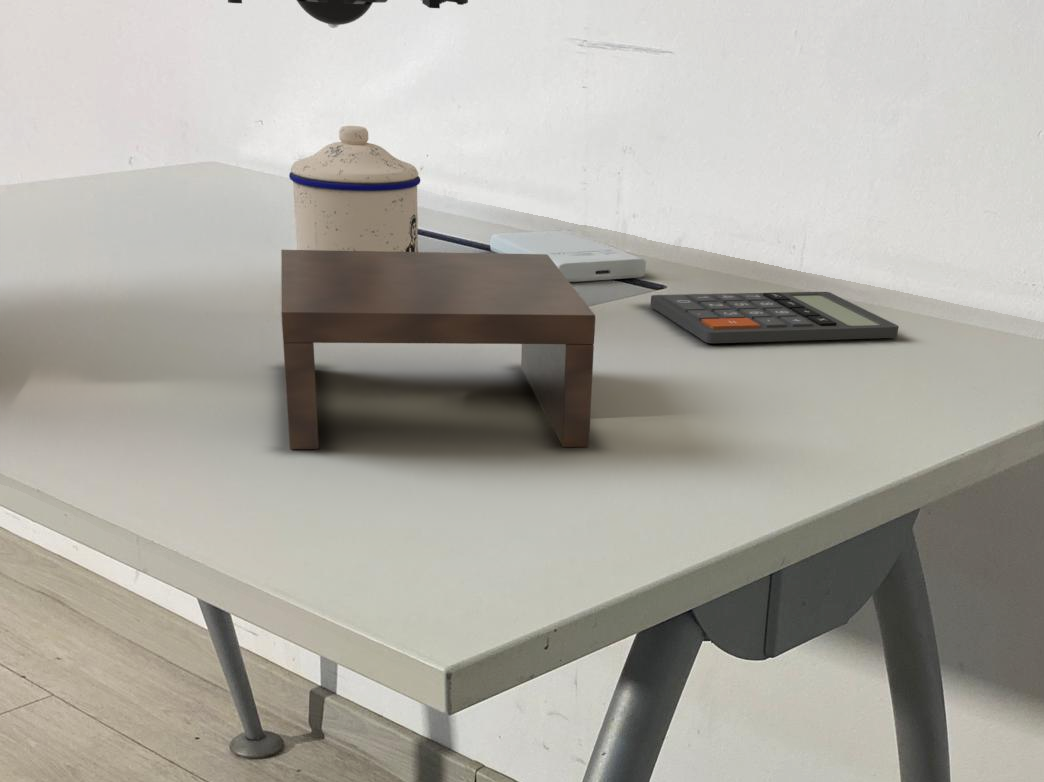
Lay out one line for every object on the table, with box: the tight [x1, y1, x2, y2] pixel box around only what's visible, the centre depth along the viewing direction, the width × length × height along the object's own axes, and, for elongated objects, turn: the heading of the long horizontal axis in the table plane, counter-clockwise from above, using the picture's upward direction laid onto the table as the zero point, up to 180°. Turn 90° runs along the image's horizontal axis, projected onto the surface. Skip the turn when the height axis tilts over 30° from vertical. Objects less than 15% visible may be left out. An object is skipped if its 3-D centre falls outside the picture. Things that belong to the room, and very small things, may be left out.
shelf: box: [280, 249, 596, 450], centre depth 81 cm, size 16×16×7 cm
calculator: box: [649, 291, 900, 344], centre depth 105 cm, size 12×1×15 cm
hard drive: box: [489, 230, 647, 283], centre depth 120 cm, size 2×8×12 cm
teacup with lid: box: [288, 125, 421, 252], centre depth 103 cm, size 12×9×12 cm
